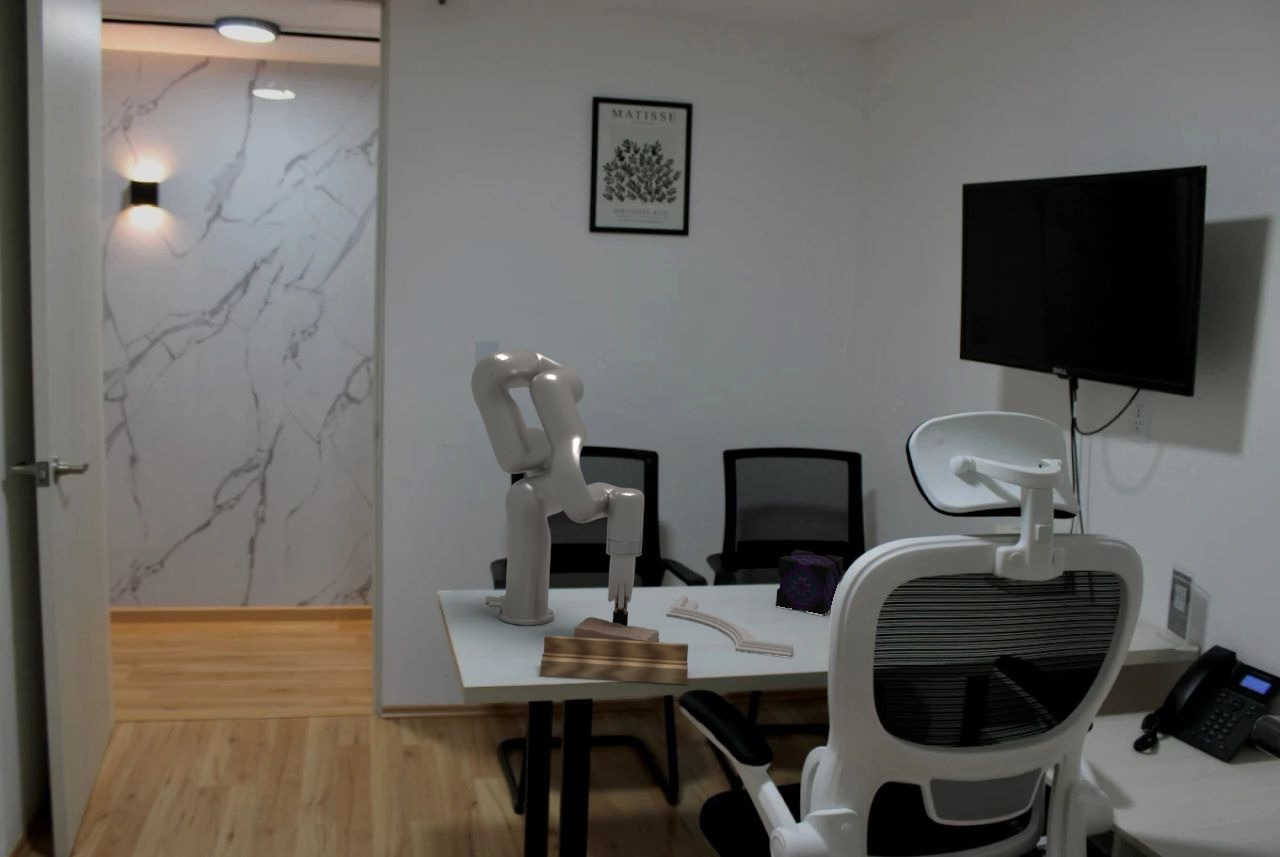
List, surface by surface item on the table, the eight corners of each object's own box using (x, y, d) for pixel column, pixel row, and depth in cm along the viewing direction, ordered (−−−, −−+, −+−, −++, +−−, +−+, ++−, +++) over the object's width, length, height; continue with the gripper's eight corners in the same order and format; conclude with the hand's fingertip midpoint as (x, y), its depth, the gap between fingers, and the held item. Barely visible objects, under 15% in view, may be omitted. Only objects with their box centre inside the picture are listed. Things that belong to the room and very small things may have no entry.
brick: (660, 648, 234) (661, 627, 233) (647, 660, 226) (648, 638, 225) (586, 636, 239) (587, 615, 238) (571, 648, 231) (572, 626, 230)
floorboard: (540, 675, 213) (541, 645, 212) (545, 658, 223) (547, 629, 222) (686, 684, 212) (688, 654, 212) (685, 666, 222) (687, 637, 222)
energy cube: (793, 596, 279) (797, 549, 277) (839, 605, 273) (843, 557, 272) (775, 607, 268) (779, 558, 267) (823, 616, 263) (827, 567, 261)
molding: (804, 658, 234) (806, 645, 233) (759, 666, 227) (760, 652, 227) (688, 603, 269) (689, 592, 268) (646, 608, 262) (647, 596, 262)
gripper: (607, 537, 244) (603, 619, 246) (605, 554, 229) (600, 640, 231) (641, 539, 244) (637, 620, 246) (641, 556, 229) (637, 642, 231)
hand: (619, 630), depth 238 cm, fingers closed
